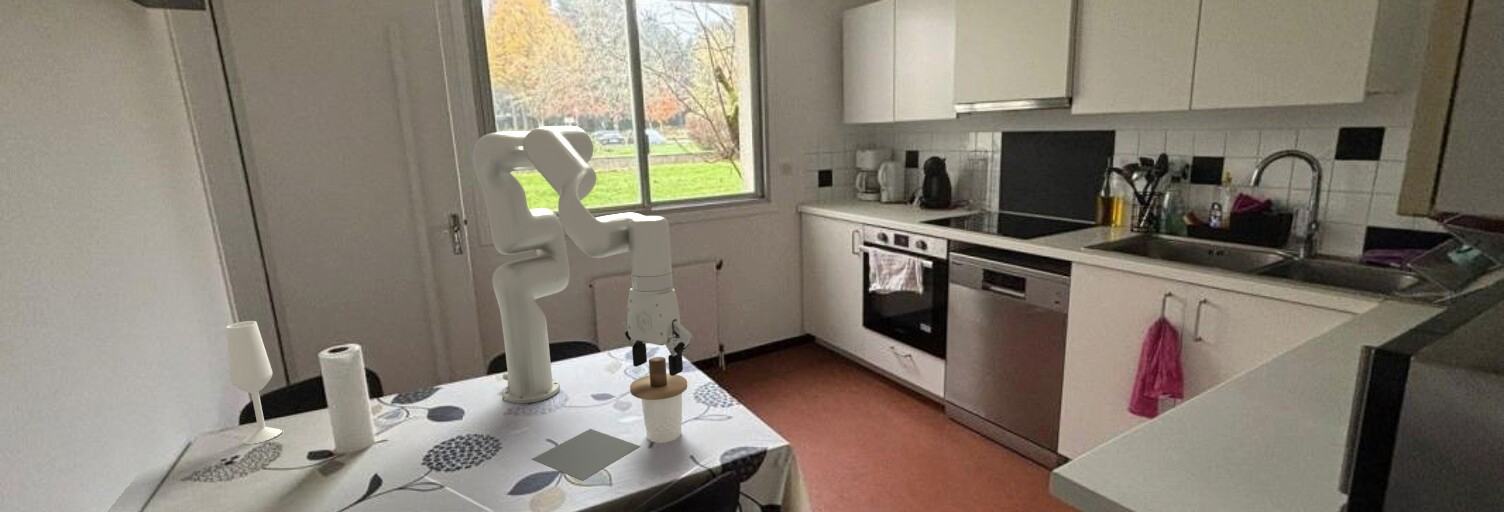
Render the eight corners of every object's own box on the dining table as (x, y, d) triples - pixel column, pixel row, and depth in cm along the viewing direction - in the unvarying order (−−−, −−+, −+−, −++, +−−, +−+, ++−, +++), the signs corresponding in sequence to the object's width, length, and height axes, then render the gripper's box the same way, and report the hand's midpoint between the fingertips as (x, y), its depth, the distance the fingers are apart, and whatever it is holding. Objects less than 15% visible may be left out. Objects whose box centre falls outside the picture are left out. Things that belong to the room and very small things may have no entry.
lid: (618, 392, 121) (615, 363, 120) (657, 373, 130) (655, 346, 129) (660, 404, 115) (658, 374, 114) (698, 383, 124) (697, 355, 123)
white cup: (677, 447, 120) (674, 397, 118) (637, 444, 121) (634, 395, 119) (689, 428, 127) (686, 381, 125) (652, 425, 129) (649, 379, 127)
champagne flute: (281, 438, 128) (260, 325, 124) (240, 447, 125) (216, 331, 121) (285, 426, 134) (265, 317, 130) (245, 434, 131) (223, 323, 126)
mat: (531, 460, 116) (531, 458, 116) (590, 430, 127) (590, 428, 127) (582, 482, 108) (582, 480, 108) (640, 448, 120) (640, 446, 120)
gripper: (605, 281, 120) (612, 366, 124) (673, 291, 111) (679, 384, 114) (633, 273, 126) (639, 355, 130) (700, 282, 117) (705, 370, 120)
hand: (657, 368), depth 122 cm, fingers open, 9 cm apart
